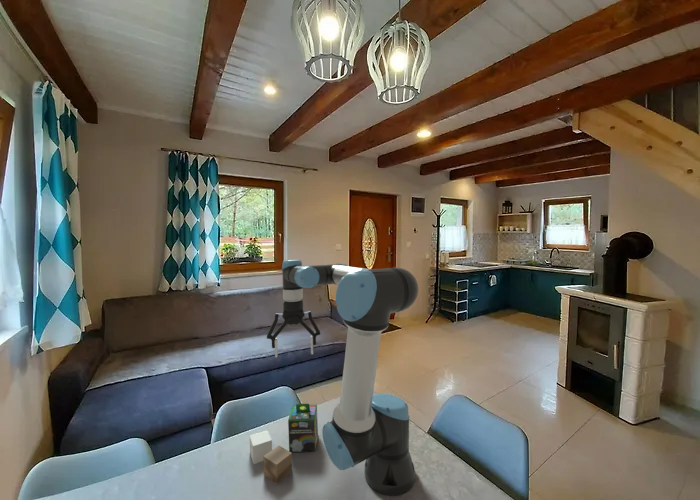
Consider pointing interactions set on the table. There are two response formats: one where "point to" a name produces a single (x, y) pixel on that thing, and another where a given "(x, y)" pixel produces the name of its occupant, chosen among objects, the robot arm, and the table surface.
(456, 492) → the table surface
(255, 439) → the white cube
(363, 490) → the table surface
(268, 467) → the walnut block
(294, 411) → the chalk box
